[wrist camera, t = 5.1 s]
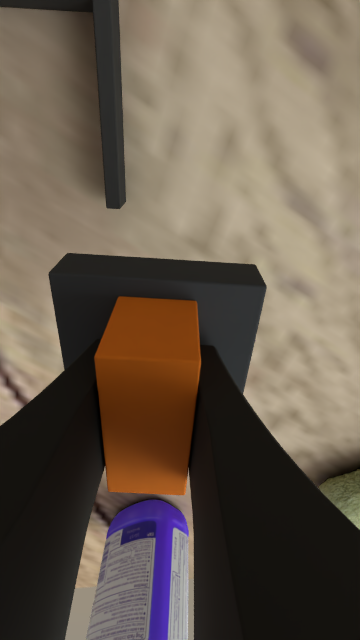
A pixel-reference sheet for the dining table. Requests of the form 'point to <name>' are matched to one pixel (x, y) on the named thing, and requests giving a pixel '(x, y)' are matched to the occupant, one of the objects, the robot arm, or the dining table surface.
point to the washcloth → (345, 494)
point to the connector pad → (159, 276)
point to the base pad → (101, 84)
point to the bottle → (143, 576)
